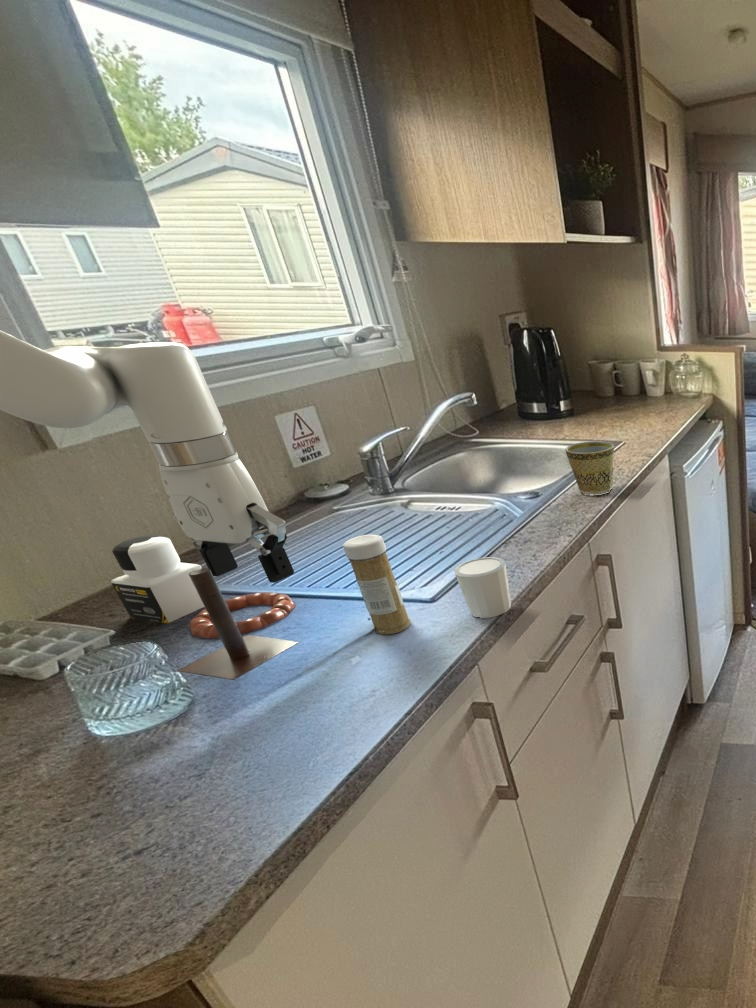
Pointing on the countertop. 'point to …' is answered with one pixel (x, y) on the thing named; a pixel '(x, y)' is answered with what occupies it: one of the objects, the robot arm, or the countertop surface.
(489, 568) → the white tapered tub
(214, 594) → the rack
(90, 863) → the countertop surface
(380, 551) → the sprinkles bottle
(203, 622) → the ring
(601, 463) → the ceramic cup
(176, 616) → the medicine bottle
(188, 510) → the robot arm
